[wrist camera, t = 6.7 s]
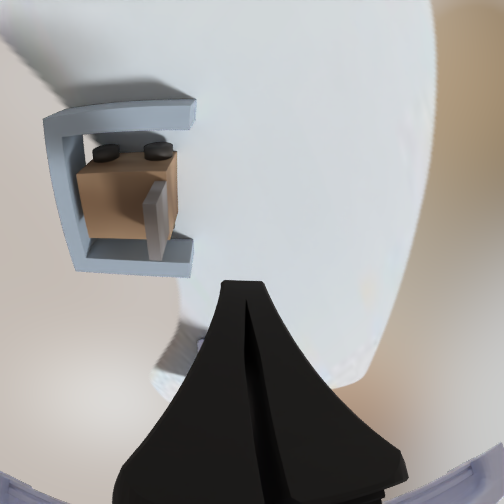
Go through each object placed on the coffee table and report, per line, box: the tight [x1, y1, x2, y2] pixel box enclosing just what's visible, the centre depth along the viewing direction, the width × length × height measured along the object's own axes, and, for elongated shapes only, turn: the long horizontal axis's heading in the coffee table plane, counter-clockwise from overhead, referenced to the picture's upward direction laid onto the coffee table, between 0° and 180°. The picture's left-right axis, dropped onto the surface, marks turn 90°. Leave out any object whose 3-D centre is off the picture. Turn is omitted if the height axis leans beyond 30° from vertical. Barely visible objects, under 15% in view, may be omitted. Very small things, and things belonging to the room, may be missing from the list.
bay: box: [43, 99, 196, 278], centre depth 15 cm, size 10×8×2 cm
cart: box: [76, 142, 178, 261], centre depth 14 cm, size 5×5×6 cm
